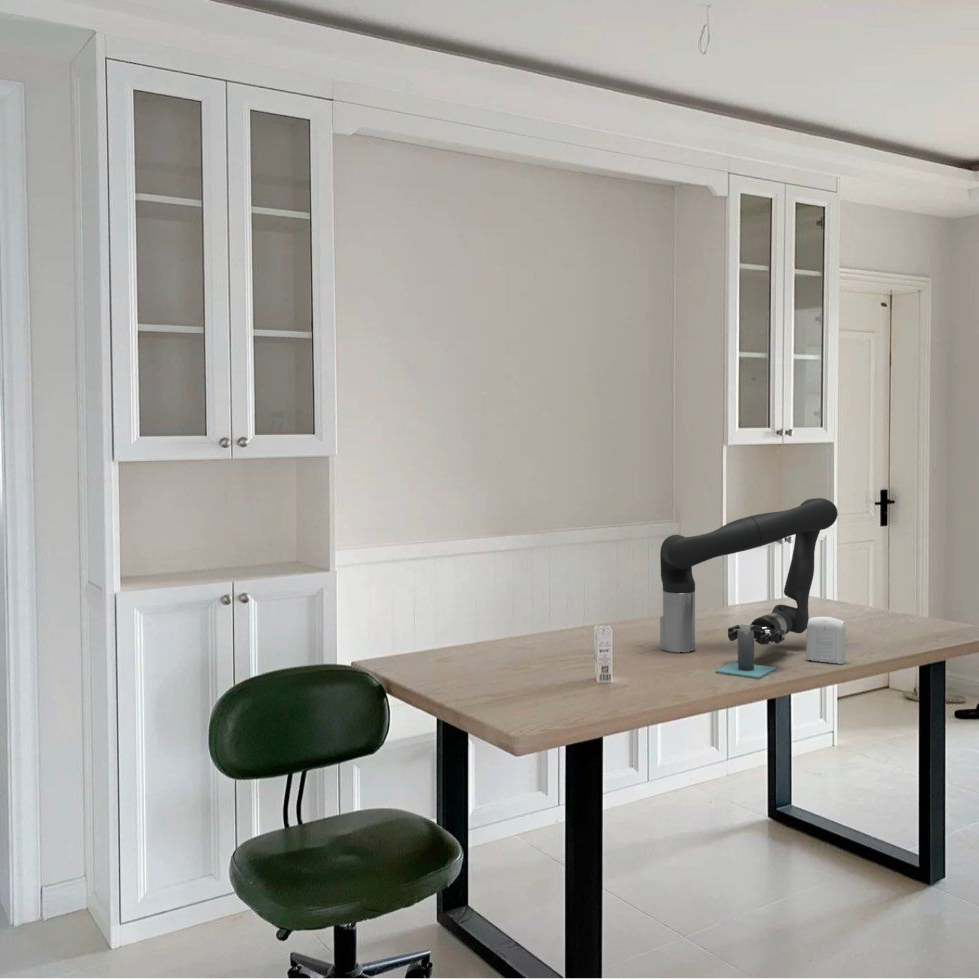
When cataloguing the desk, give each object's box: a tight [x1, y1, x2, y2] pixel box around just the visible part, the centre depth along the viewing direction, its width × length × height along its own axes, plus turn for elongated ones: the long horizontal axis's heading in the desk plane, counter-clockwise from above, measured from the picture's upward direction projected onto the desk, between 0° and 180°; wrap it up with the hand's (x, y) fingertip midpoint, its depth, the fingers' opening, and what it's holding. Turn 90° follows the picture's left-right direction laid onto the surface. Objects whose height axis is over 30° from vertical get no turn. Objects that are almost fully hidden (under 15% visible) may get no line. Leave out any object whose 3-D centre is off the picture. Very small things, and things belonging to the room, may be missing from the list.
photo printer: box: [805, 616, 847, 665], centre depth 281 cm, size 10×4×12 cm, turn 60°
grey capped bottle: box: [737, 622, 755, 671], centre depth 271 cm, size 4×4×12 cm
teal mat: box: [715, 661, 777, 680], centre depth 272 cm, size 12×12×1 cm
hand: (745, 638), depth 271 cm, fingers open, 8 cm apart
